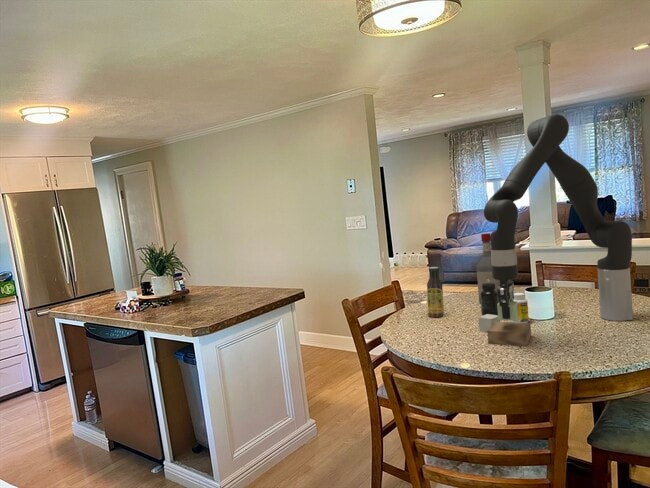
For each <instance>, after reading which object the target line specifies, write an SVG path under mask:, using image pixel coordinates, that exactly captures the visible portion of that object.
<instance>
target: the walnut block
mask: <svg viewBox="0 0 650 488" xmlns="http://www.w3.org/2000/svg"><path fill="white" fill-rule="evenodd" d="M531 327H532V326H531V322H527V323H515V322H513V321H511V322H509V321H507V322H506V321H500V322H494V323H493V324H492V326H491V327H490V328H489V329H488V331H487V332H486V333H487V343H488V344H493V345H494V344H495V345H507V344H511V345H510V346H522V345H526V346H527V345H528V343H529V341H530V339H529V338H531V337H530V336H532V328H531Z"/></svg>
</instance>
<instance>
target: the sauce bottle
mask: <svg viewBox="0 0 650 488" xmlns="http://www.w3.org/2000/svg"><path fill="white" fill-rule="evenodd" d="M439 271H440V267H438V266H431V267H428V274H429V275H428V276H429V277H428V280H427V283H426V294H427V295H426V298H427V300H426V301H427V313H428V316H429V317H431V318H441V317H443V316H444V314H445V312H444V311H445V310H444V309H445V308H444V290H443V282H442V281H441V279H440V272H439Z"/></svg>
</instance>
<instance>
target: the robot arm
mask: <svg viewBox="0 0 650 488" xmlns="http://www.w3.org/2000/svg"><path fill="white" fill-rule="evenodd" d="M569 131H570V125H569V122H568V120H567V118H566V117H565V116H564V115H562V114H559V113H555V114H550V115H547V116H545V117H542V118H541V117H540V118H539V119H536V120H533V121H532V122H530V123H529V125H528V126H527V129H526V135H527V139H528V141H529V143H530V145H531V146H532V148H531V149H530V150H529V152H528V153H527V154H526V155H525V156H524V157H523V158H522V159H521V160H520V161H519V162H517V164H515V166H514V167H513V168H512V169H511V171H510V172H509V173H508V176H507V177H506V178H505V180H504V182H503V184H502V185H501V187H500V188H499V189H498V190H497V191H496V192H495V193H494V194H493V195H492V196H491V197H490V198H489V199H488V201H487V202H486V204H485V206H484V209H483V217H484V219H485V220H486V221H488V222H490V223H493V224H494V223H497V226H496V230H494V231H492V232H491V233H490V240H491V241H490V246H491V264H492V277H493V279H496V280H500V285H498V289H497V291H498V298H499V305H500V306H501V307H502V317H503V319H510V301H514V300H513V299H514V293H515V286H514V283H515V282H514V281H513V280H516V279H518V277H519V272H518V271H519V270H518V269H519V268H518V257H517V252H516V242H515V233H516V230H517V229H516V228H517V222H518V219H519V218H518V216H519V210H518V207H517V205H516V204H515V202H516V201H518V200H520V199H522V198H523V196H524V195H525V194H526V192H527V191H528V189H529V187H530V186H531V184H532V182H533V181H534V178H535V177H536V176H537V174H538V173H539V171H540V170H541V169H542V167H543V166H544V165H545V164H546V165H547V167H548V168H549V170H550V172H551V174H553V176H554V178H556V181H557V182H558V184H559V186H560V187H561V189H562V191H563V193H564V194H565V196H566V197H567V198H568V201H569V202H570V203H571V205H572V207H573V208H574V210H575V212H576V214H577V215H578V217H579V219H580V221H581V222H582V225H583V227H584V230H585V231H586V234H587V236H588V238H589V239H590V241H591V243H592V244H594V245H595V246H596V247H599V248H601V249H602V248H603V249H607V255H606V256H605V257H602V258H600V259H598V260H597V263H596V264H597V265H596V266H597V279H598V280H597V281H598V297H599V309H600V310H599V313H600V318H601V319H603V320H607V321H612V322H613V321H614V322H615V321H616V322H620V321H621V322H622V321H625V322H626V321H633V320H634V312H633V310H634V308H633V296H632V295H633V294H632V284H631V283H632V282H631V265H630V264H631V261H632V256H633V235H632V230H631V228H630V226H629V224H628V223H627V222H625V221H622V220H606V219H605V218H604V215H602V213H601V211H600V210H599V207H598V194H599V189H598V185H597V183H596V181H595V180H594V178H593V176H592V175H591V173H590V171H589V170H588V169H587V167H585V166H584V165H583V164H581V163H580V162H579V161H577V160H576V159H575V158H573V157H571V156H570V155H568V154H567V153H566V152H565V151H564V150H563V149H562V148H561V147H560V145H561V144H562V143H563V142H564V141H565V140H566V138H567V136H568V133H569ZM503 301H506V302H503Z"/></svg>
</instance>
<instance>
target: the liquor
mask: <svg viewBox="0 0 650 488" xmlns="http://www.w3.org/2000/svg"><path fill="white" fill-rule="evenodd" d="M480 235H481V236H480V237H481V242H482V257H481V259H480V260H479V262H478V263H477V264H476V278H477V279H476V280H477V290H478V302H479V304H480V305H481V300H480V293H481V292H482V291H483V289H482V284H486V283H494V284H495V287H496V289H495V290H496V291H497V289H498V285H500V280H496V279H493V277H492V264H491V240H490V236H491V233H488V232H487V233H481V234H480ZM497 292H498V291H497Z"/></svg>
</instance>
